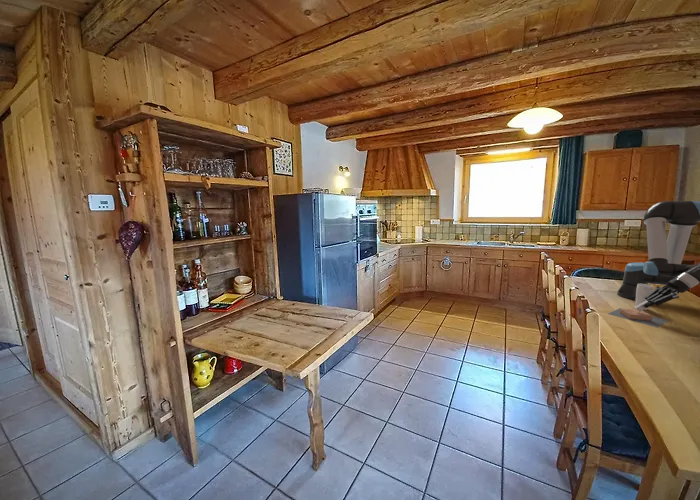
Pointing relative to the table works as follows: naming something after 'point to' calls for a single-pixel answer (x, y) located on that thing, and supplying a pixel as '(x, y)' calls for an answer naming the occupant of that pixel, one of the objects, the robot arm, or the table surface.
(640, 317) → the tile
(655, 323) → the mat
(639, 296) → the white rectangular block
